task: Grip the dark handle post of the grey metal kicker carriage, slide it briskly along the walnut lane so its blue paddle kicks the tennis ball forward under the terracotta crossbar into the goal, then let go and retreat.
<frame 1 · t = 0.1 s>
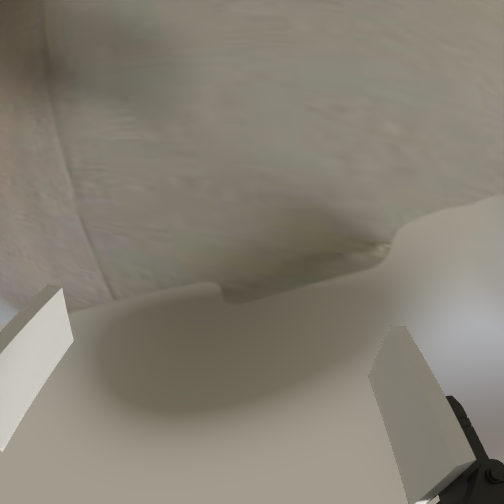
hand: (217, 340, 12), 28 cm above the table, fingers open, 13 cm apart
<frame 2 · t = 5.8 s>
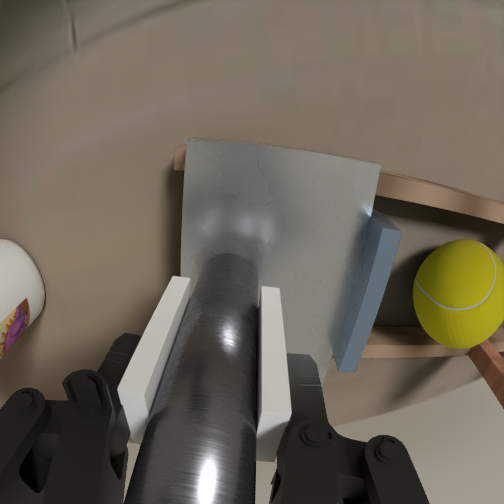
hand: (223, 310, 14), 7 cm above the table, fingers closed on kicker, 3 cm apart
kicker: (283, 341, 12), point 9 cm above the table, slide at 0.0 cm, touching gripper
tennis ball: (437, 269, 21), resting in lane
lane: (266, 251, 20), on the table
milk bottle: (16, 277, 22), on the table
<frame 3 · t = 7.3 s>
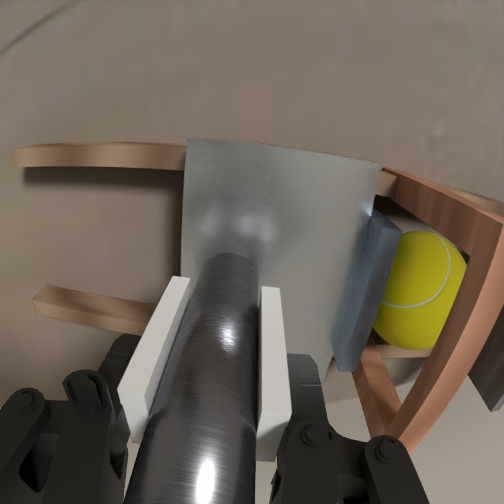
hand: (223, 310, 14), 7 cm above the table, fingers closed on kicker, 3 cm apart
kicker: (283, 341, 12), point 9 cm above the table, slide at 11.7 cm, touching gripper, tennis ball
tennis ball: (395, 264, 20), resting in lane, touching kicker
lane: (95, 233, 20), on the table
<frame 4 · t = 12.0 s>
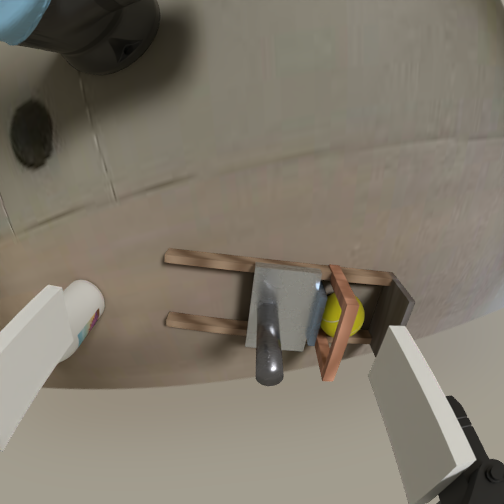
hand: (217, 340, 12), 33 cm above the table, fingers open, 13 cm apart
kicker: (287, 332, 40), point 9 cm above the table, slide at 11.7 cm
tennis ball: (336, 301, 49), resting in lane
lane: (203, 289, 48), on the table
milk bottle: (87, 297, 50), on the table
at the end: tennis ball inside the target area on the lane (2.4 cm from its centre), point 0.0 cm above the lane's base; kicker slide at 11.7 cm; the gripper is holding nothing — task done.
